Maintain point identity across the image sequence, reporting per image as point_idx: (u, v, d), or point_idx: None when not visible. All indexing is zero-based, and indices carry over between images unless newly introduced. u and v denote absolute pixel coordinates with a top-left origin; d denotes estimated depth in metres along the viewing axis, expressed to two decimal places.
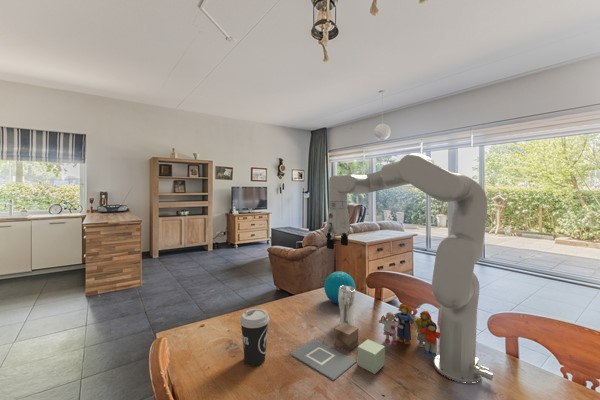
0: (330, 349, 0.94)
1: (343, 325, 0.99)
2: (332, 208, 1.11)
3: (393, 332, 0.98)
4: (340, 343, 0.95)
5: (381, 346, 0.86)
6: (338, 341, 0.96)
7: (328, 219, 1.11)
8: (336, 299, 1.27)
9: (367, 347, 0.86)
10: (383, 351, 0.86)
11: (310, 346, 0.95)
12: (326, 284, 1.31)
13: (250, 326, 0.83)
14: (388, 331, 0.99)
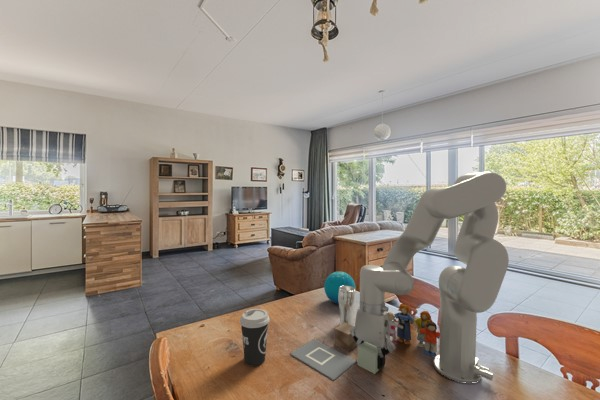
0: (330, 349, 0.94)
1: (343, 325, 0.99)
2: (382, 312, 0.83)
3: (393, 332, 0.98)
4: (340, 343, 0.95)
5: None
6: (338, 341, 0.96)
7: (384, 329, 0.82)
8: (336, 299, 1.27)
9: (366, 347, 0.86)
10: None
11: (310, 346, 0.95)
12: (326, 284, 1.31)
13: (250, 326, 0.83)
14: None
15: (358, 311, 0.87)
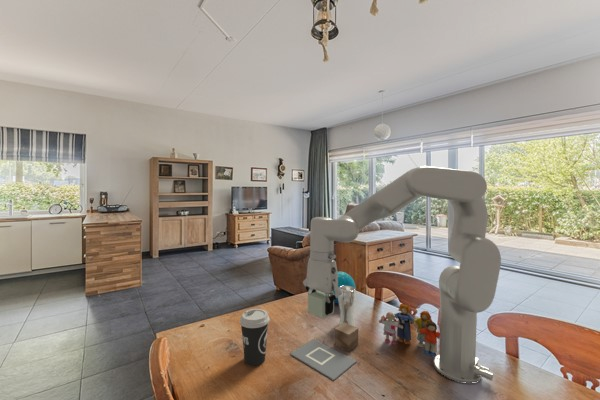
0: (330, 349, 0.94)
1: (343, 325, 0.99)
2: (330, 260, 0.86)
3: (393, 332, 0.98)
4: (340, 343, 0.95)
5: None
6: (338, 341, 0.96)
7: (331, 276, 0.85)
8: (336, 299, 1.27)
9: (316, 294, 0.89)
10: None
11: (310, 346, 0.95)
12: None
13: (250, 326, 0.83)
14: (388, 331, 0.99)
15: (309, 261, 0.90)
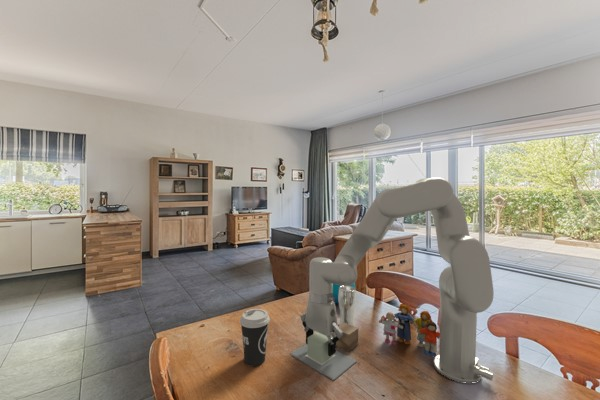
0: None
1: (343, 325, 0.99)
2: (329, 302, 0.87)
3: (393, 332, 0.98)
4: (340, 343, 0.95)
5: None
6: (338, 341, 0.96)
7: (330, 318, 0.85)
8: (336, 299, 1.27)
9: (316, 338, 0.89)
10: None
11: None
12: None
13: (250, 326, 0.83)
14: (388, 331, 0.99)
15: (308, 301, 0.90)
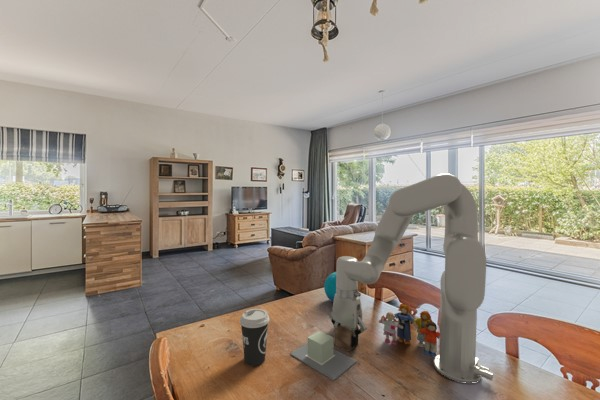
0: None
1: (343, 325, 0.99)
2: (355, 298, 0.94)
3: (393, 332, 0.98)
4: (340, 342, 0.95)
5: (330, 337, 0.90)
6: (337, 341, 0.96)
7: (356, 312, 0.93)
8: None
9: (316, 338, 0.89)
10: (331, 342, 0.89)
11: None
12: (326, 284, 1.31)
13: (250, 325, 0.83)
14: (388, 331, 0.99)
15: (335, 297, 0.98)
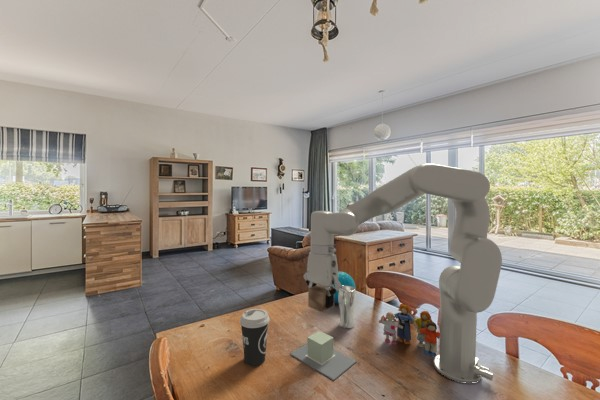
0: None
1: (318, 286, 0.92)
2: (331, 254, 0.86)
3: (393, 332, 0.98)
4: (314, 303, 0.88)
5: (330, 337, 0.90)
6: (311, 301, 0.89)
7: (331, 269, 0.85)
8: (336, 299, 1.27)
9: (316, 338, 0.89)
10: (331, 342, 0.89)
11: None
12: None
13: (250, 326, 0.83)
14: (388, 331, 0.99)
15: (309, 255, 0.90)
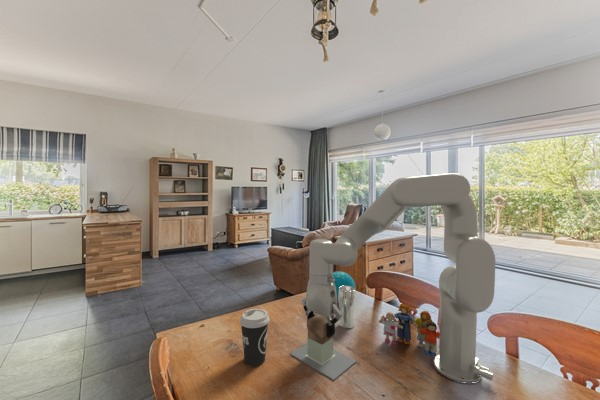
0: None
1: (317, 316, 0.92)
2: (330, 283, 0.87)
3: (393, 332, 0.98)
4: (314, 335, 0.88)
5: None
6: (311, 333, 0.89)
7: (330, 299, 0.85)
8: None
9: None
10: (331, 342, 0.89)
11: None
12: None
13: (250, 326, 0.83)
14: (388, 331, 0.99)
15: (308, 283, 0.90)
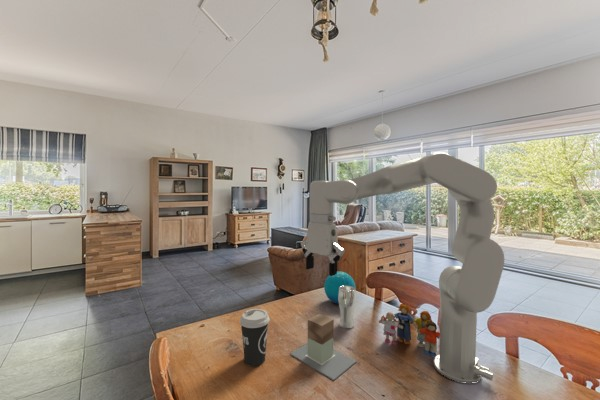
0: None
1: (317, 316, 0.92)
2: (330, 223, 0.86)
3: (393, 332, 0.98)
4: (314, 335, 0.88)
5: None
6: (311, 333, 0.89)
7: (331, 238, 0.84)
8: (336, 299, 1.27)
9: None
10: (331, 342, 0.89)
11: None
12: (326, 284, 1.31)
13: (250, 326, 0.83)
14: (388, 331, 0.99)
15: (309, 225, 0.89)
